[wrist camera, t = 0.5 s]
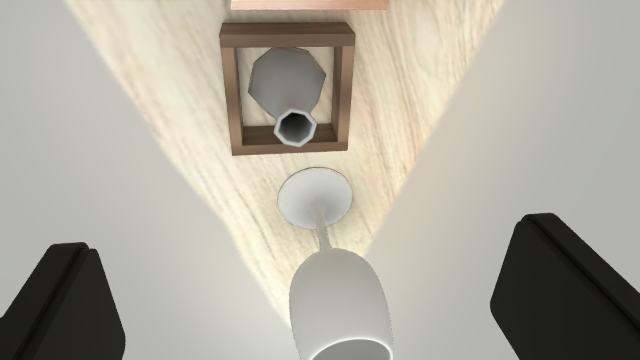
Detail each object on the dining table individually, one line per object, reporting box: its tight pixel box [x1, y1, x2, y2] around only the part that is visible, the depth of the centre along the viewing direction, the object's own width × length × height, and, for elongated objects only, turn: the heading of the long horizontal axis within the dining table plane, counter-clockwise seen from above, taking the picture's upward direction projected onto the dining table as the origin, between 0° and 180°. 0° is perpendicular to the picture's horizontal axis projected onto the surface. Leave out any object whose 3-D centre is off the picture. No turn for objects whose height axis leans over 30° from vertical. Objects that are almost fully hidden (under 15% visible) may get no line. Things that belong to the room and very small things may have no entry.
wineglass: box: [278, 168, 393, 360], centre depth 39 cm, size 9×9×21 cm
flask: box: [248, 47, 326, 147], centre depth 35 cm, size 7×7×10 cm
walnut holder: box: [219, 23, 355, 156], centre depth 38 cm, size 11×11×4 cm
